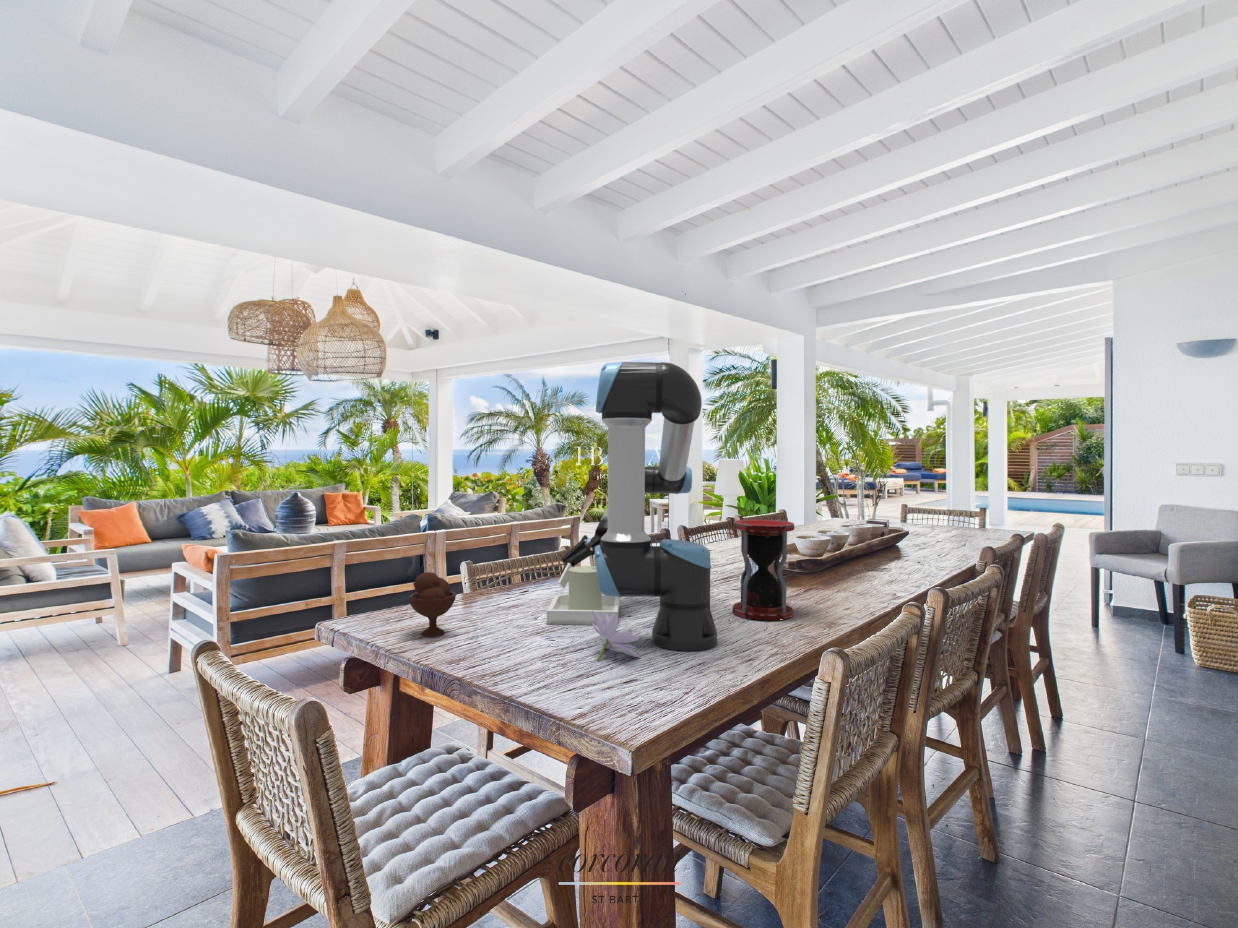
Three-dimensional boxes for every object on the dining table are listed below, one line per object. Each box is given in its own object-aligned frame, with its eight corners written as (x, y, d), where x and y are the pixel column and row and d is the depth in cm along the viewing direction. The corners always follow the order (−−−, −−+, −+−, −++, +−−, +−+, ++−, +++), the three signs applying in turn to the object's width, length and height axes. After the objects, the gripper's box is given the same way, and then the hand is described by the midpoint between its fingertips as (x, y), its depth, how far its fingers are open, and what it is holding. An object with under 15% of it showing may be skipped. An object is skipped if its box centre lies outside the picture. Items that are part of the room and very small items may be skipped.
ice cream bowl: (444, 641, 153) (444, 577, 153) (400, 638, 156) (399, 574, 155) (464, 629, 164) (463, 568, 163) (422, 626, 166) (422, 566, 166)
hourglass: (720, 612, 183) (721, 521, 182) (759, 603, 193) (760, 517, 192) (766, 624, 170) (767, 527, 169) (805, 615, 180) (806, 523, 179)
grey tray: (617, 625, 168) (617, 611, 168) (546, 624, 169) (546, 610, 169) (619, 607, 186) (619, 595, 186) (555, 607, 187) (555, 594, 187)
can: (601, 616, 173) (602, 570, 173) (566, 616, 173) (566, 570, 173) (603, 607, 182) (603, 564, 182) (569, 607, 182) (569, 563, 182)
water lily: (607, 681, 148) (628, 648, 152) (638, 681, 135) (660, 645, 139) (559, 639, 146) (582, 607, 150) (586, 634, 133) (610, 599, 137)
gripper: (655, 537, 184) (627, 602, 172) (581, 531, 198) (550, 590, 185) (646, 520, 180) (616, 585, 167) (571, 515, 193) (538, 574, 181)
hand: (581, 588), depth 176 cm, fingers open, 13 cm apart
